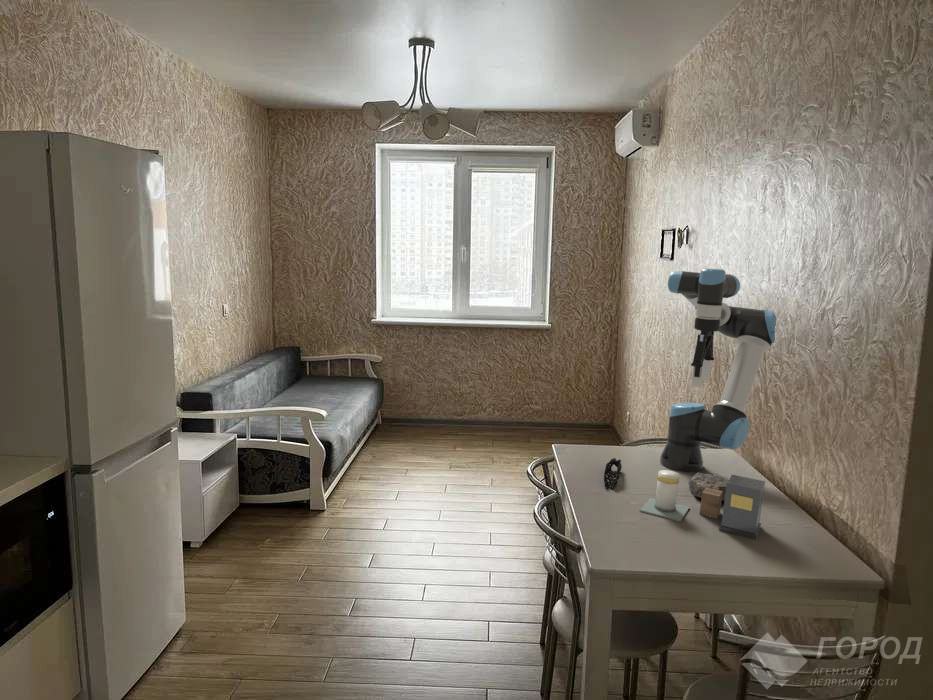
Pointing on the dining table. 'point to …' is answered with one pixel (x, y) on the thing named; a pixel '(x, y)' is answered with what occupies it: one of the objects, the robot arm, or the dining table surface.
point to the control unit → (742, 506)
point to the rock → (707, 484)
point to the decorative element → (612, 473)
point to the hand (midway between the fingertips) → (700, 383)
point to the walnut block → (711, 502)
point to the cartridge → (666, 491)
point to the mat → (675, 515)
